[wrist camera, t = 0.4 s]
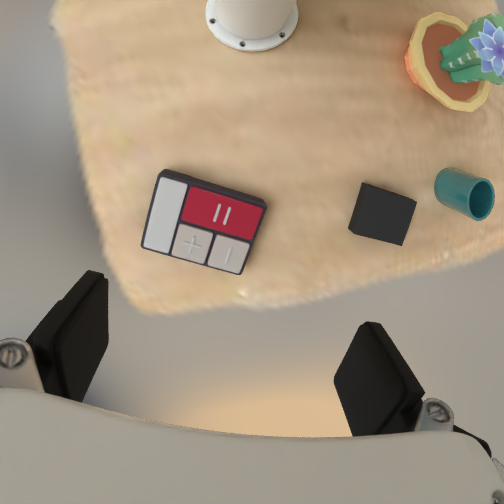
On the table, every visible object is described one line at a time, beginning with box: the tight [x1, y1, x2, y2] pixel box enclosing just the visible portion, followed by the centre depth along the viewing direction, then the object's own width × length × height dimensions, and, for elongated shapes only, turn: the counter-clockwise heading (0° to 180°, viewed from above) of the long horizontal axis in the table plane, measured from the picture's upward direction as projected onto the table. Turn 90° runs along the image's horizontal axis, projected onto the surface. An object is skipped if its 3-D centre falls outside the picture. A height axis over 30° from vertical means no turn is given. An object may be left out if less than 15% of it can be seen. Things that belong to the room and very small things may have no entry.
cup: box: [434, 168, 495, 221], centre depth 40 cm, size 6×6×9 cm
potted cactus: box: [404, 12, 504, 112], centre depth 25 cm, size 15×15×25 cm
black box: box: [348, 183, 417, 246], centre depth 44 cm, size 7×9×3 cm
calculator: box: [141, 169, 267, 275], centre depth 43 cm, size 11×4×15 cm
